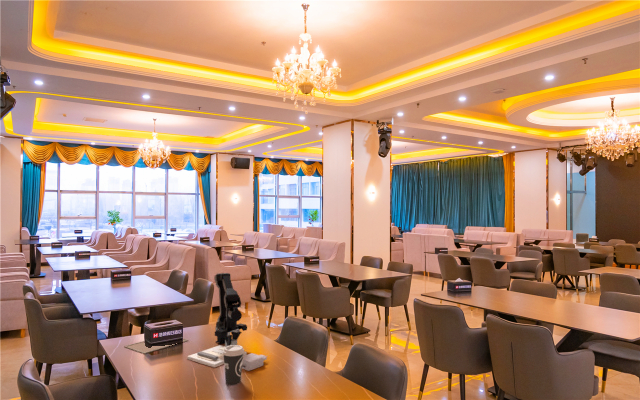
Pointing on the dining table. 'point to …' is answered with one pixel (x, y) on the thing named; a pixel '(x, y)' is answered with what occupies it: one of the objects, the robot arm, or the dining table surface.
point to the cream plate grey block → (233, 342)
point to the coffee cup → (233, 363)
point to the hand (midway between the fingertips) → (231, 346)
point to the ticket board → (210, 363)
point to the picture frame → (143, 349)
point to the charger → (252, 361)
